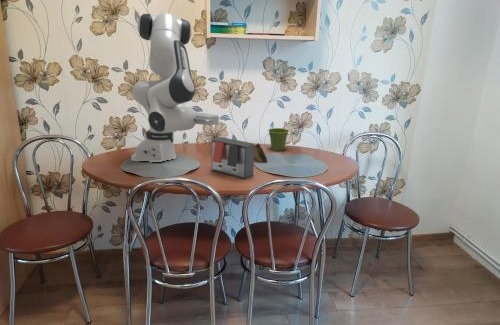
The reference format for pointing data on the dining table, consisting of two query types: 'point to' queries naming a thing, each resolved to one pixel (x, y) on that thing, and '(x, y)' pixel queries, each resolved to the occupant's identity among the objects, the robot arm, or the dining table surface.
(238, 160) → the rocker switch panel
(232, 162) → the rocker black
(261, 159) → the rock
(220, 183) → the dining table surface
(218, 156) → the rocker red
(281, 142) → the plant pot
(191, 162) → the dining table surface
